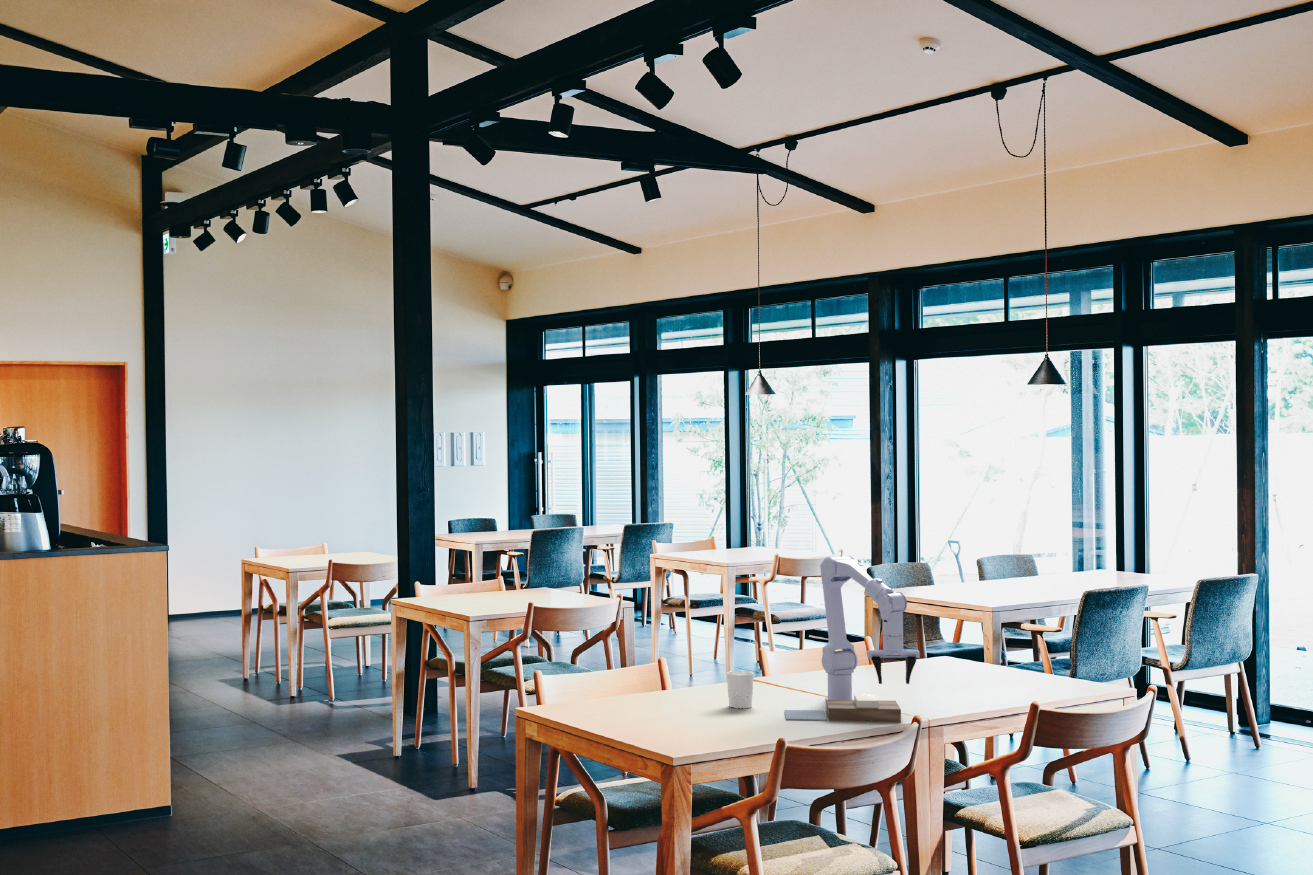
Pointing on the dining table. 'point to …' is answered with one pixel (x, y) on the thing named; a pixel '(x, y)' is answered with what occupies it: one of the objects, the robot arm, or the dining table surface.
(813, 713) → the slate mat
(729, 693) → the white cup
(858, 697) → the cream tile
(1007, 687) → the dining table surface
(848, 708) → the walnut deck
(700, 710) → the dining table surface
